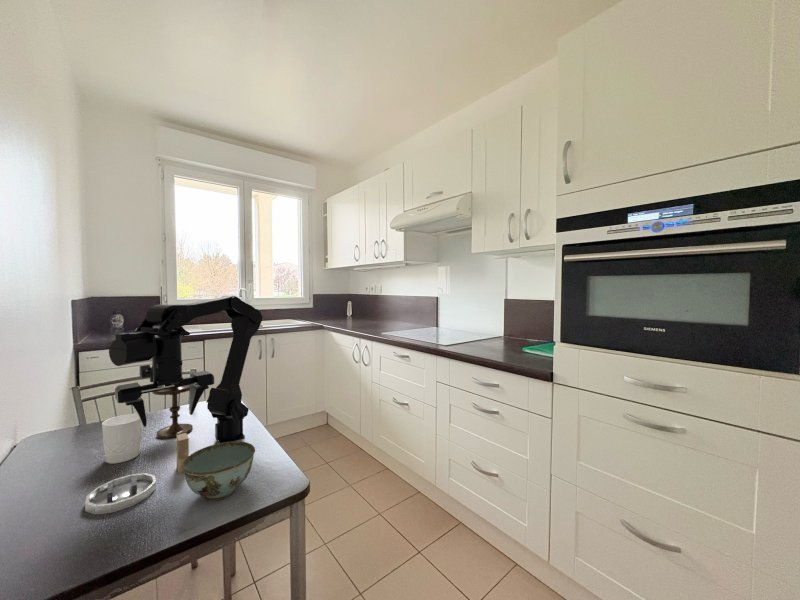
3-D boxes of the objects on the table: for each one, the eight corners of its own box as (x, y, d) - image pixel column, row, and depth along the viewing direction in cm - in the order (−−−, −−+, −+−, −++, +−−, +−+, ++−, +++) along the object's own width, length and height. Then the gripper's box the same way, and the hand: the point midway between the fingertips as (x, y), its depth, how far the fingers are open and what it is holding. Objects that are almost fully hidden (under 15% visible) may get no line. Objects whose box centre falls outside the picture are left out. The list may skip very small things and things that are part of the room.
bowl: (203, 523, 59) (202, 480, 58) (170, 498, 66) (169, 460, 66) (267, 485, 70) (267, 450, 70) (233, 467, 77) (233, 435, 77)
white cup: (119, 466, 78) (118, 426, 77) (94, 463, 79) (93, 424, 79) (150, 451, 85) (149, 414, 85) (126, 448, 87) (126, 412, 87)
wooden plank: (186, 464, 79) (186, 432, 79) (188, 471, 76) (188, 438, 76) (176, 467, 77) (176, 435, 77) (178, 474, 74) (178, 440, 74)
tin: (153, 474, 74) (153, 464, 74) (157, 497, 66) (157, 485, 66) (88, 494, 67) (88, 482, 67) (83, 522, 59) (83, 509, 59)
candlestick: (171, 424, 102) (170, 318, 102) (203, 425, 102) (203, 318, 101) (143, 440, 92) (141, 320, 91) (179, 441, 91) (177, 321, 91)
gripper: (200, 347, 88) (202, 401, 89) (110, 357, 74) (113, 422, 75) (214, 352, 81) (215, 412, 81) (117, 365, 67) (119, 437, 67)
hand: (168, 420), depth 76 cm, fingers open, 9 cm apart
